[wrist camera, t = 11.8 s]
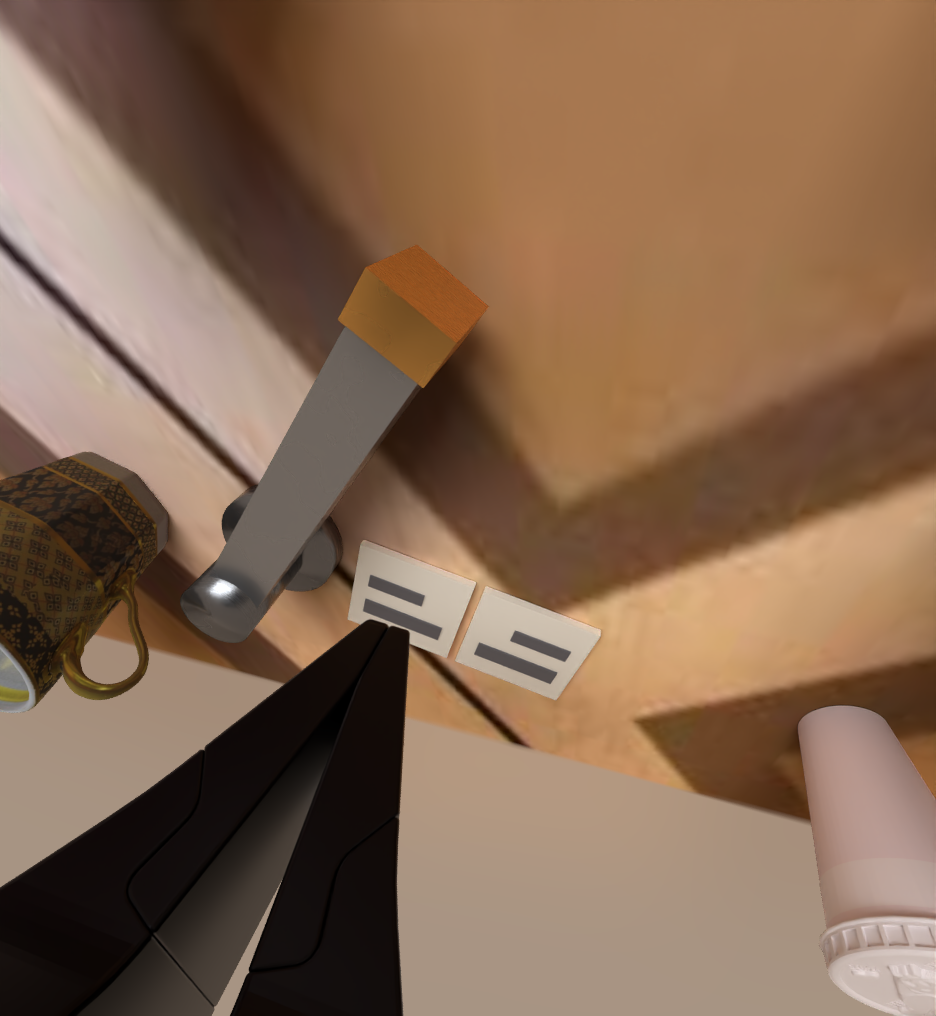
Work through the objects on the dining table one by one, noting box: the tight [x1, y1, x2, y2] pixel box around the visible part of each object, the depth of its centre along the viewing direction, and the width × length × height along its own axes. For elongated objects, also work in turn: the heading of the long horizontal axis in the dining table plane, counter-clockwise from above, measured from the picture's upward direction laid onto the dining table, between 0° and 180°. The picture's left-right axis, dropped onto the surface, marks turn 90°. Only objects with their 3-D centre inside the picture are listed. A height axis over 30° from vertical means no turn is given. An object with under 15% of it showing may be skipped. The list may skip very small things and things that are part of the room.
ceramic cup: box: [0, 452, 168, 713], centre depth 24 cm, size 13×10×10 cm
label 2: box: [455, 586, 601, 700], centre depth 26 cm, size 6×6×1 cm
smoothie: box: [798, 706, 936, 1016], centre depth 19 cm, size 6×6×14 cm
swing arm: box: [180, 245, 489, 643], centre depth 19 cm, size 18×3×4 cm, turn 144°
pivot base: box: [222, 485, 343, 591], centre depth 26 cm, size 6×6×1 cm
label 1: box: [348, 540, 476, 658], centre depth 27 cm, size 6×6×1 cm
